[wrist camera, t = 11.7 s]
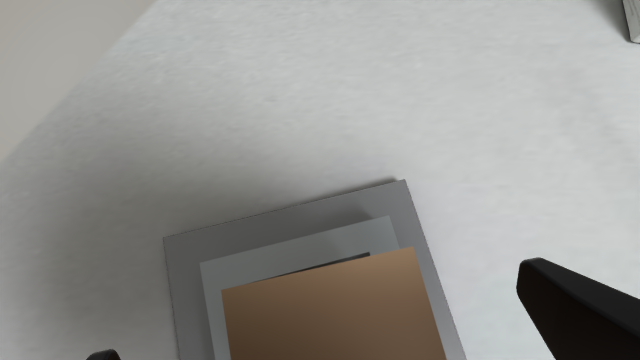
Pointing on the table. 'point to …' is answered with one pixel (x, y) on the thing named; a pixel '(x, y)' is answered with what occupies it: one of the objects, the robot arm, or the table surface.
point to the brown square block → (336, 313)
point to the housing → (292, 259)
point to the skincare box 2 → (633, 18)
